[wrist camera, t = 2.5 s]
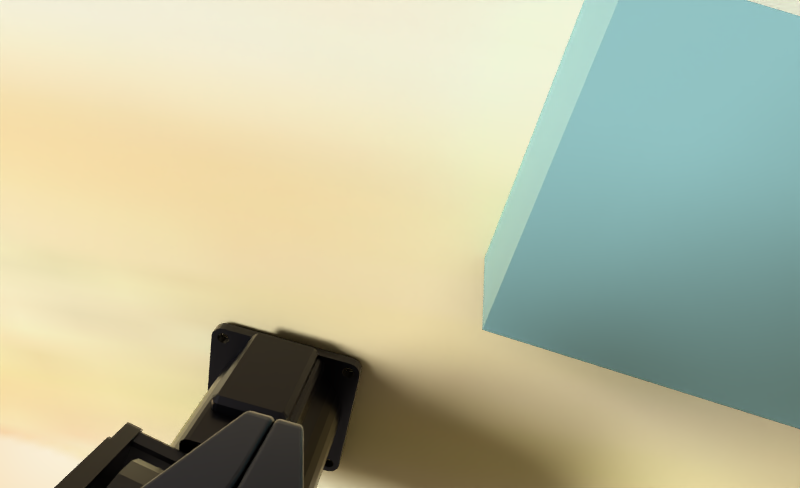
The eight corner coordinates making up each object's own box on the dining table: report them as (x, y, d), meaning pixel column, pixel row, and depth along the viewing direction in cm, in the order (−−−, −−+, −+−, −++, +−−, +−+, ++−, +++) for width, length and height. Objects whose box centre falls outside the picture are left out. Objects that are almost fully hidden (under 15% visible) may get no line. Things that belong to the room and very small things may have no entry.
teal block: (740, 334, 21) (807, 431, 16) (484, 254, 21) (482, 329, 16) (923, 67, 16) (1086, 101, 12) (594, -31, 16) (632, -34, 12)
